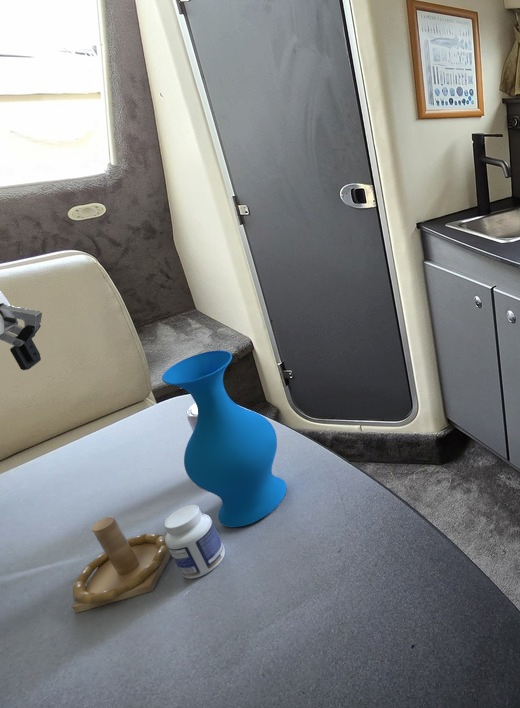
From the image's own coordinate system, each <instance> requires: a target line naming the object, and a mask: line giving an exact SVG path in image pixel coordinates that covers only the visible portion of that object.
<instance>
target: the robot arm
mask: <svg viewBox="0 0 520 708" xmlns="http://www.w3.org/2000/svg"><path fill="white" fill-rule="evenodd" d="M42 317H43V312H42V311H40V310H35V309H30V308H25V307H20V306H19V307H18V306H13V305H11V304H10V302H9V300H8V299H7V297H6V296H5V294H3V292H2V291H1V290H0V341H2V342H5V343H7V344H9V345H11V346H12V347H10V349H9V351H10V353H11V355H12V357H13V358H14V360H15V362H16V363H17V365H18V367H19V369H20V370H21V371H26V370H27V371H28V370H30V369H31V368H33V367H34V366H36V365H37V364H39V362H40V361H42V358H41V353H40V351H39V350H38V348H37V345H36V344H35V342H34V340H33V338H35V337H36V334H37V332H38V331H39V330H40V329H41V326H42V325H41V322H42ZM19 320H21V321H23V322H24V324H23V325H24V326H22V325H19Z"/></svg>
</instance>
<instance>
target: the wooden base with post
mask: <svg viewBox="0 0 520 708" xmlns="http://www.w3.org/2000/svg"><path fill="white" fill-rule="evenodd" d="M91 532H92V533H93V535H94V537H95V538H96V540H97V541H98V543H99V545H100V547H101V548H102V550H103V552H105V553H106V555H107V557H108V559H107V560H106V561H105V562H103V563H102V564H101V565H100V566H99V567H98V568H96V569H95V570H94V573H92V576H90V579H88V581H87V582H86V583H87V584H85V588H86V591H87V592H91V593H100V592H103V591H107V590H110V589H114V588H116V587H118V586H120V585H121V584H123V583H125V582H127V581H128V580H130V579H132V578H134V577H135V576H137V575H138V574H139V573H140V572H141V571H142V570H143V569H144V568H145V567H146V566H148V565H149V564H150V563H151V562H152V560H153V558H154V557H155V555H156V553H157V551H158V548H157V545H156V544H154V543H149V542H145V543H141V544H137V545H133V546H130V545H129V543H128V541H127V539H128V538H126V536H125V533H124V532H123V530H122V529H121V527H120V525H119V524H118V522H117V520H116V518H115V517H114V516H107V517H103V518H102V519H100V520H98V521H97V522H95V523H94V524H93V525H92V527H91ZM164 536H165V537H166V535H164ZM171 557H172V555H171V553H170V551H169V549H168V551H167V553H166V555H165V557H164V559H163V561H162V562H161V564H160V566H159V567H158V568H156V569H155V570H154V571H153V572H152V573H151V574H150V575H149V576H148V577H147V578H146V579H145V580H144V581H142V582H141V583H140V584H138V585H136V586H135V587H133V588H131V589H130V590H128V591H126V592H124V593H123V594H121V595H119V596H118V597H115V598H112V599H109V600H105V601H102V602H98V603H95V604H88V603H83V602H79V601H74V604H73V605H72V606H71V608H72V610H73V612H74V613H75V614H78V613H81V612H85V611H87V610H91V609H95V608H97V607H101V606H105V605H108V604H112V603H115V602H118V601H122V600H125V599H129V598H133V597H136V596H139V595H143V594H146V593H150V592H153V591H154V590H155V588H156V586H157V584H158V583H159V580H160V578H161V576H162V574H163V573H164V570H165V569H166V566H167V564H168V562H169V561H170V559H171Z"/></svg>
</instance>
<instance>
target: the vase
mask: <svg viewBox="0 0 520 708" xmlns="http://www.w3.org/2000/svg"><path fill="white" fill-rule="evenodd" d="M232 359H233V354H232V353H231V352H230V351H227V350H209V351H205V352H201V353H197V354H195V355H192V356H189V357H186V358H184V359H182V360H180V361H178V362H176V363H174V364H173V365H172V366H170V367H169V368H168V369H166V370H165V372H164V373H163V374H162V377H161V380H162V382H163V383H164V384H167V385H171V386H176V387H178V388H181V389H184V390H185V391H186V392H187V393H189V394H190V396H191V397H192V399H193V401H194V404H195V403H196V406H197V410H198V417H197V423H196V426H195V429H194V431H193V430H192V433H191V436H190V438H189V439H188V442H187V444H186V447H185V450H184V455H183V464H184V470H185V472H186V475H187V477H188V478H189V479H190V480H191V482H193V484H194V485H196V486H197V487H198V488H200V489H202V490H204V491H206V492H208V493H211V494H213V495H215V496H217V497H218V498H219V499H220V500H221V502H222V503H221V506H220V507H219V510H218V521H219V523H220V524H221V525H223V526H224V527H228V528H239V527H244V526H247V525H250V524H253V523H255V522H257V521H260V520H261V519H263V518H265V517H266V516H267V515H269V514H270V513H271V512H272V511H274V510H275V509H276V508H277V507H278V506H279V504H280V503H281V502H282V501H283V500H284V498H285V496H286V493H287V489H288V485H287V483H286V481H285V480H283V478H280V477H278V476H274V474H273V473H272V470H273V464H274V460H275V457H276V454H277V448H278V439H277V438H278V437H277V433H276V430H275V428H274V426H273V424H272V423H271V422H270V421H269V420H268V419H267V418H266V417H264V416H263V415H261V414H260V413H258V412H255V411H253V410H250V409H247V408H245V407H242V406H240V405H238V404H237V403H236V402H234V400H232V399H231V398H230V397H229V395H228V394H227V391H226V389H225V385H224V374H225V371H226V369H227V367H228V366H229V365H230V363H231V361H232Z"/></svg>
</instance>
